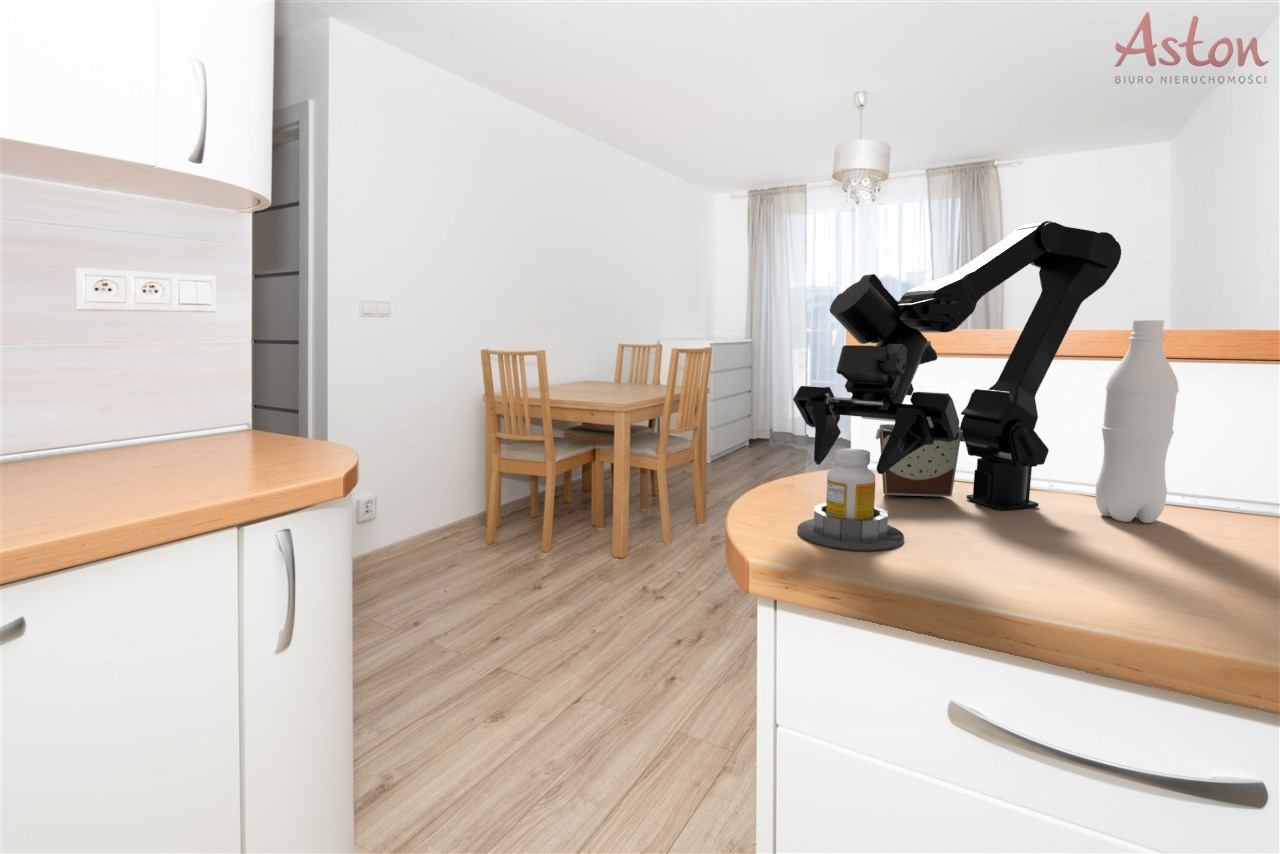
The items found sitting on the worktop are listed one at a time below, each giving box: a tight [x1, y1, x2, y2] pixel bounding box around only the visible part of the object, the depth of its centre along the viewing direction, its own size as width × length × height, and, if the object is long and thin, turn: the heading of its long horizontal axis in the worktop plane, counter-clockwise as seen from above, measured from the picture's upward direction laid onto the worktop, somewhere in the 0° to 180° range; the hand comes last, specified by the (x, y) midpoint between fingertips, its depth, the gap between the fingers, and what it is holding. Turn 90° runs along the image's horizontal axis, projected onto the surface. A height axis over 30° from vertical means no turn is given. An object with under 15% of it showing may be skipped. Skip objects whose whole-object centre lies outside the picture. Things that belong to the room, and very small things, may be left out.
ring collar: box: [797, 502, 905, 552], centre depth 76 cm, size 12×12×3 cm
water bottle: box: [1094, 319, 1179, 524], centre depth 80 cm, size 7×7×25 cm
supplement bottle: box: [825, 448, 876, 519], centre depth 75 cm, size 5×5×10 cm
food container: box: [875, 423, 965, 498], centre depth 95 cm, size 12×6×10 cm, turn 88°
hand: (846, 467), depth 74 cm, fingers open, 7 cm apart
